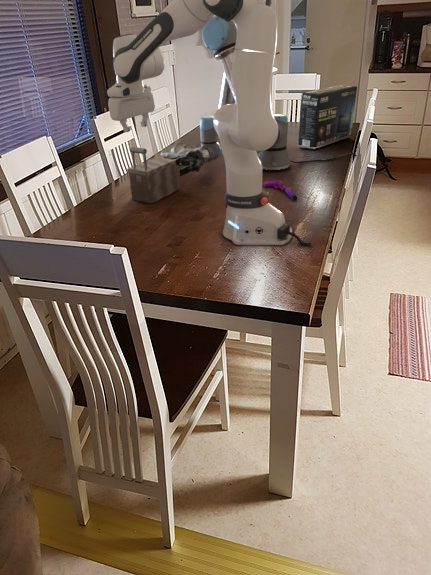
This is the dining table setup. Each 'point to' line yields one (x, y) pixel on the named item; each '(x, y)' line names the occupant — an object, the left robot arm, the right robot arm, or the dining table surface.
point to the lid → (148, 163)
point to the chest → (153, 184)
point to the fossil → (177, 151)
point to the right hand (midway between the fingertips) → (167, 170)
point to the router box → (326, 115)
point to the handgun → (281, 185)
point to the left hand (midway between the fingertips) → (135, 129)
